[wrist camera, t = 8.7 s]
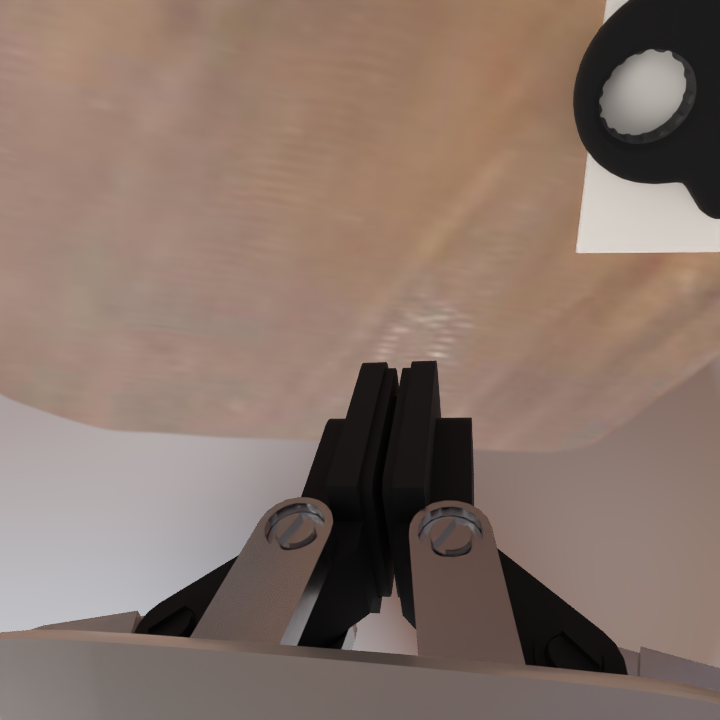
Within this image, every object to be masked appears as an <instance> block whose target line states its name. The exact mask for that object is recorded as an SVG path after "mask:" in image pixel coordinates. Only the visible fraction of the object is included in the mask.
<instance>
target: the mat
mask: <svg viewBox="0 0 720 720" xmlns="http://www.w3.org/2000/svg"><path fill="white" fill-rule="evenodd" d="M627 1H629V0H606V4H605V13H604V21H603V24H604V23H605V22H606V21H607V20H608V18H609V17H611V16H612V15H613V14H614V13H615V12H616V11H617V10H618V9H619V8H620V7H621V6H622V5H624V4H625V3H626V2H627ZM685 90H686V78H685V77H684V67H683V65H682V63H681V62H680V61H677V60H676V59H674V58H673V56H672V52H670V51H666V52H657V51H655V50H654V49H650V50H646V51H645V52H644V53H642V54H639V55H636V54H635V55H633V56H631V57H629V58H627V59H626V61H625V62H624V63H623V64H622V65H618V66H617V67H616V68H615V69H614V71H613V72H612V75H611V77H610V79H609V80H607V81H606V82H605V84H604V86H603V95H602V97H601V98H600V100H599V104H600V105H601V107H602V112H601V114H600V116H601V117H603V118H605V119H606V122H607V124H608V127H609V128H614V129H616V130H617V132H618V133H620V134H631V135H640V134H642V133H648V132H650V131H653V130H654V129H656V128H658V127H659V126H661V125H663V124H664V123H665V122H667V121H668V120H669V119H670V118H671V117H672V115H673V113H675V112H676V110H677V109H678V107H679V106H680V104H681V102H682V100H683V94H684V92H685ZM658 252H720V219H714V218H711V217H709V216H707V215H706V214H705V213H703V212H702V211H701V210H700V209H699V208H698V207H697V205H696V203H695V202H694V200H693V198H692V197H691V195H690V193H689V192H688V190H687V188H686V187H685V186H684V185H683V184H682V183H664V184H645V183H636V182H632V181H628V180H625V179H622V178H620V177H618V176H616V175H614V174H612V173H610V172H608V171H607V170H606V169H604V168H603V167H602V166H600V165H599V164H598V163H597V162H596V161H595V160H594V159H593V158H592V156H591V155H590V154H589V152H588V153H587V161H586V170H585V178H584V186H583V194H582V203H581V211H580V219H579V227H578V236H577V244H576V253H658Z"/></svg>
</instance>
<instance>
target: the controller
mask: <svg viewBox="0 0 720 720" xmlns="http://www.w3.org/2000/svg"><path fill="white" fill-rule="evenodd" d="M650 49H654V50H655V51H657V52H666V51H670V52H672V56H673V58H674V59H676V60H677V61H680V62H681V63H682V65H683V67H684V77H685V78H686V90H685V92H684V94H683V100H682V102H681V104H680V106H679V107H678V109H677V110H676V112H675V113H673V115H672V117H671V118H670V119H669V120H668V121H667V122H665V123H664V124H663V125H661V126H659V127H658V128H656V129H654V130H653V131H650V132H648V133H642V134H640V135H631V134H620V133H618V132H617V130H616V129H614V128H609V127H608V124H607V122H606V119H605V118H603V117H601V116H600V114H601V112H602V107H601V105H600V104H599V100H600V98H601V97H602V95H603V86H604V84H605V82H606V81H607V80H609V79H610V77H611V75H612V72H613V71H614V69H615V68H616V67H617V66H618V65H622V64H623V63H624V62H625V61H626V59H627V58H629V57H631V56H633V55H635V54H636V55H639V54H642V53H644V52H645V51H646V50H650ZM573 106H574V116H575V121H576V125H577V129H578V133H579V135H580V138H581V141H582V142H583V144H584V146H585V148H586V150H587V151H588V152H589V154H590V155H591V156H592V158H593V159H594V160H595V161H596V162H597V163H598V164H599V165H600V166H602V167H603V168H604V169H606V170H607V171H608V172H610V173H612V174H614V175H616V176H618V177H620V178H622V179H625V180H628V181H632V182H636V183H645V184H664V183H682V184H683V185H684V186H685V187H686V188H687V190H688V192H689V193H690V195H691V197H692V198H693V200H694V202H695V203H696V205H697V207H698V208H699V209H700V210H701V211H702V212H703V213H705V214H706V215H707V216H709V217H711V218H714V219H720V0H629V1H627V2H626V3H625V4H624V5H622V6H621V7H620V8H619V9H618V10H617V11H616V12H615V13H614V14H613V15H612V16H611V17H609V18H608V20H607V21H606V22H605V23H604V24H603V26H602V27H601V28H600V29H599V31H598V32H597V34H596V35H595V37H594V38H593V40H592V41H591V43H590V45H589V47H588V48H587V50H586V52H585V54H584V57H583V59H582V61H581V64H580V67H579V70H578V74H577V77H576V81H575V87H574V99H573Z"/></svg>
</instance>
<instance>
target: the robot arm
mask: <svg viewBox="0 0 720 720" xmlns="http://www.w3.org/2000/svg"><path fill="white" fill-rule="evenodd" d="M473 472H474V471H473V439H472V418H441V410H440V397H439V383H438V370H437V362H436V361H413V362H412V364H411V368H403V369H402V374H401V380H400V385H399V383H398V375H397V370H396V368H388V364H387V362H379V363H363V364H362V366H361V369H360V372H359V376H358V379H357V382H356V386H355V389H354V392H353V396H352V399H351V402H350V406H349V409H348V412H347V416H346V419H329V420H328V422H327V424H326V426H325V429H324V432H323V435H322V438H321V441H320V444H319V447H318V449H317V452H316V455H315V458H314V461H313V464H312V467H311V470H310V473H309V476H308V479H307V482H306V485H305V487H304V491H303V493H302V496H301V497H298V498H293V499H288V500H285V501H283V502H281V503H279V504H277V505H275V506H274V507H272V508H271V509H270V510H268V511H267V512H266V513H265V514H264V516H263V517H262V518H261V519H260V521H259V523H258V524H257V526H256V528H255V529H254V531H253V533H252V534H251V536H250V538H249V539H248V541H247V543H246V544H245V546H244V548H243V549H242V551H241V553H240V554H239V555H238V556H237V557H235V558H234V559H232V560H230V561H228V562H227V563H225V564H224V565H222V566H220V567H218V568H217V569H215V570H213V571H212V572H210V573H209V574H207V575H205V576H204V577H202V578H200V579H199V580H197V581H195V582H194V583H192V584H190V585H189V586H187V587H185V588H184V589H182V590H180V591H179V592H177V593H176V594H174V595H172V596H171V597H169V598H167V599H166V600H164V601H162V602H161V603H159V604H158V605H157V606H155V607H154V608H153V609H151V610H150V611H149V612H148V613H147V614H146V615H145V616H140V614H139V612H138V611H133V612H127V613H121V614H114V615H108V616H102V617H95V618H89V619H82V620H76V621H70V622H63V623H57V624H51V625H45V626H41V627H38V628H34V629H32V630H25V631H12V632H1V633H0V720H720V668H718V667H714V666H710V665H707V664H703V663H699V662H695V661H692V660H688V659H685V658H681V657H677V656H674V655H670V654H666V653H662V652H659V651H655V650H652V649H648V648H644V647H640V652H639V653H638V652H634V651H630V650H627V649H623V648H620V647H617V645H616V644H615V643H614V642H613V641H612V640H611V639H610V638H609V637H608V636H607V635H606V634H605V633H604V632H603V631H602V630H600V629H599V628H598V627H596V626H595V625H594V624H593V623H591V622H590V621H589V620H588V619H586V618H585V617H584V616H583V615H581V614H580V613H579V612H578V611H576V610H575V609H574V608H572V607H571V606H570V605H568V604H567V603H566V602H565V601H564V600H562V599H561V598H560V597H558V596H557V595H556V594H555V593H553V592H552V591H551V590H550V589H548V588H547V587H545V585H543V584H542V583H541V582H539V581H538V580H537V579H536V578H534V577H533V576H532V575H531V574H529V573H528V572H527V571H525V570H524V569H523V568H522V567H520V566H519V565H518V564H517V563H515V562H514V561H513V560H512V559H510V558H509V557H508V556H506V555H505V554H504V553H503V552H501V551H500V550H499V549H498V548H497V546H496V542H495V538H494V534H493V529H492V526H491V524H490V522H489V520H488V518H487V517H486V516H485V515H484V514H483V513H482V511H480V510H479V509H478V508H476V507H474V473H473ZM394 575H395V581H396V588H397V594H398V597H400V600H401V607H402V613H403V616H404V617H405V618H406V619H407V620H408V622H409V623H411V625H412V626H413V627H414V628H415V629H416V633H417V646H418V656H415V655H414V656H413V655H403V654H391V653H378V652H366V651H354V650H352V648H353V645H354V642H355V638H356V632H357V626H356V623H357V622H359V621H360V620H361V619H363V618H364V617H366V616H367V615H368V614H369V613H380V608H381V601H382V596H384V597H390V596H391V594H392V587H393V579H394Z"/></svg>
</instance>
